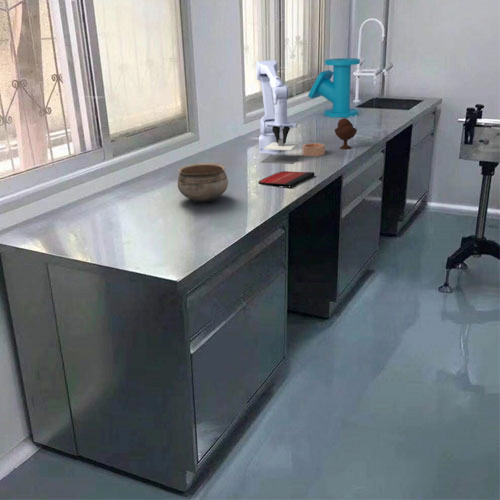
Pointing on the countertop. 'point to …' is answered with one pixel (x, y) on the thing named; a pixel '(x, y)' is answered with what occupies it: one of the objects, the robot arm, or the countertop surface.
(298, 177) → the binder
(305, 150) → the dish
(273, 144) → the cover sheet
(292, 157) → the mat
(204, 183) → the cooking pot
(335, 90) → the pipe fitting
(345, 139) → the ice cream bowl
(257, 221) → the countertop surface
